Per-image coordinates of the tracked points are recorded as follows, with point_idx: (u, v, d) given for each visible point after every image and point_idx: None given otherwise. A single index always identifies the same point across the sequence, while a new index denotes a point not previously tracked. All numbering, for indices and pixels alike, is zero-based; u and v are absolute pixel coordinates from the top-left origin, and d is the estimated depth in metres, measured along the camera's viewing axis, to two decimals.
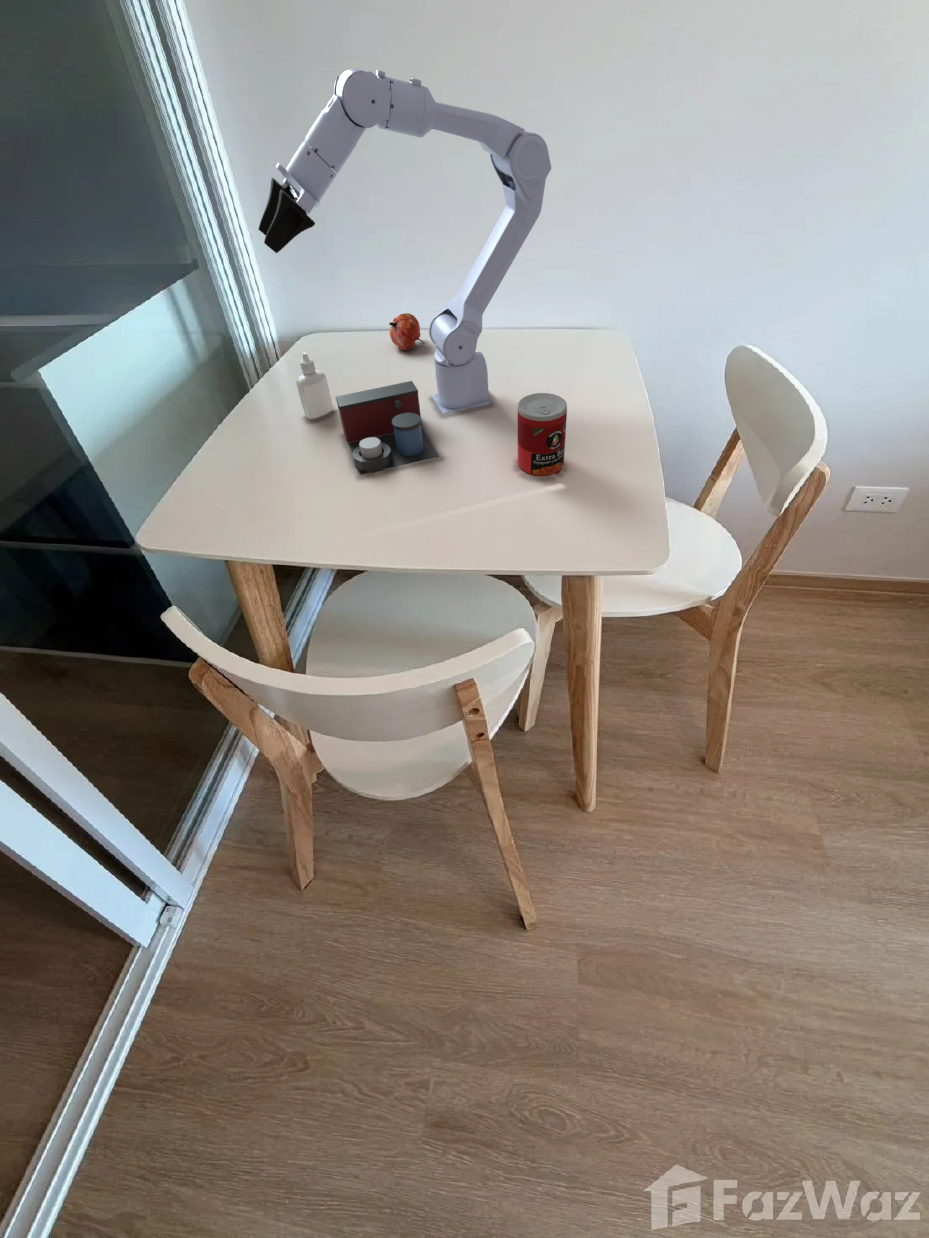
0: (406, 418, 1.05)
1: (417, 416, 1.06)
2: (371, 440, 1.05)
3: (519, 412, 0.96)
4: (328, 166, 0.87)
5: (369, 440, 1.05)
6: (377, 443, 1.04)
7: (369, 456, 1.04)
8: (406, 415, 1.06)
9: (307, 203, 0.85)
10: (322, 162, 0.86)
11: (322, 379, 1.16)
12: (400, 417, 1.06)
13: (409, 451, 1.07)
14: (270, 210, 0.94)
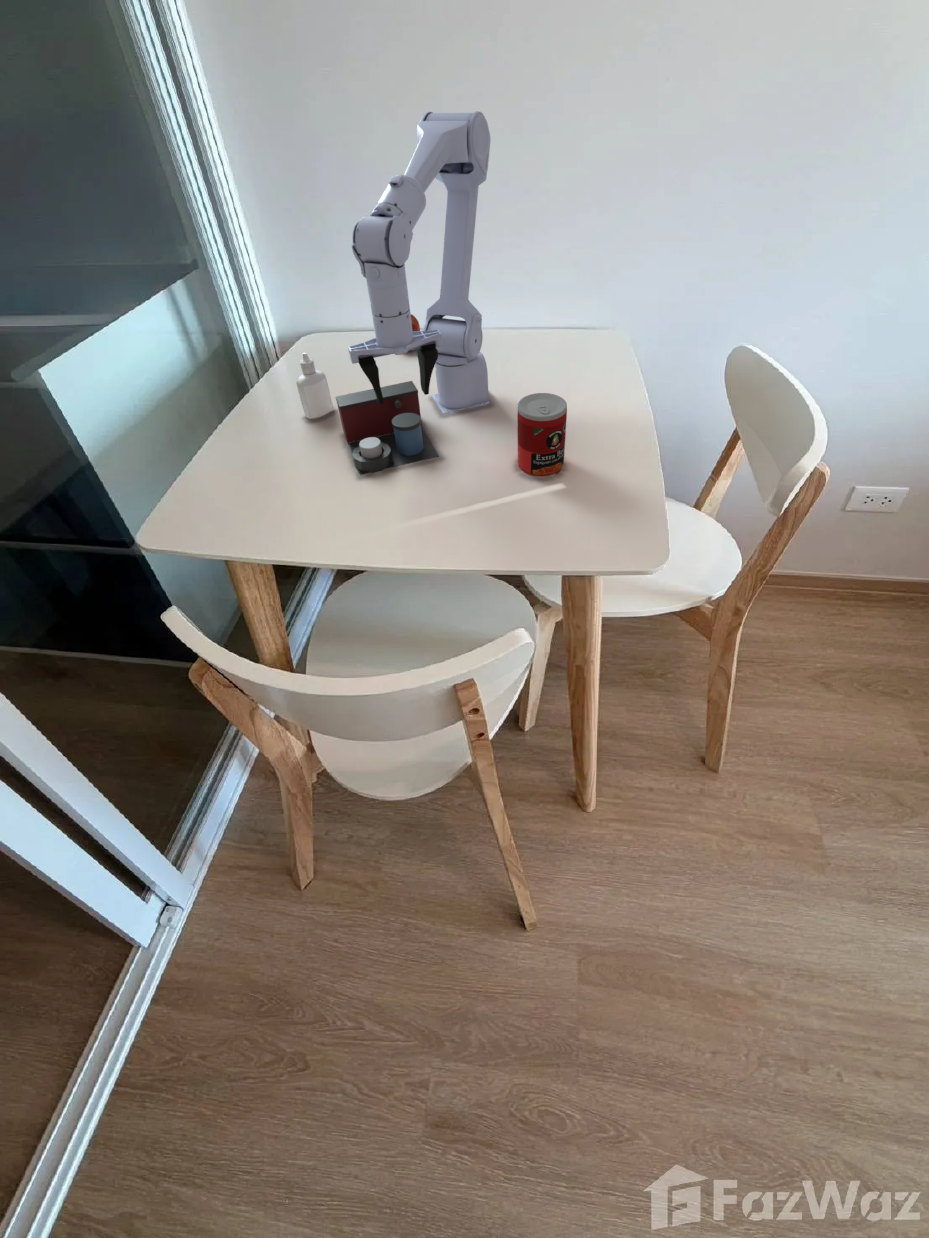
0: (406, 418, 1.05)
1: (417, 416, 1.06)
2: (371, 440, 1.05)
3: (519, 412, 0.96)
4: None
5: (369, 440, 1.05)
6: (377, 443, 1.04)
7: (369, 456, 1.04)
8: (406, 415, 1.06)
9: None
10: None
11: (322, 379, 1.16)
12: (400, 417, 1.06)
13: (409, 451, 1.07)
14: None
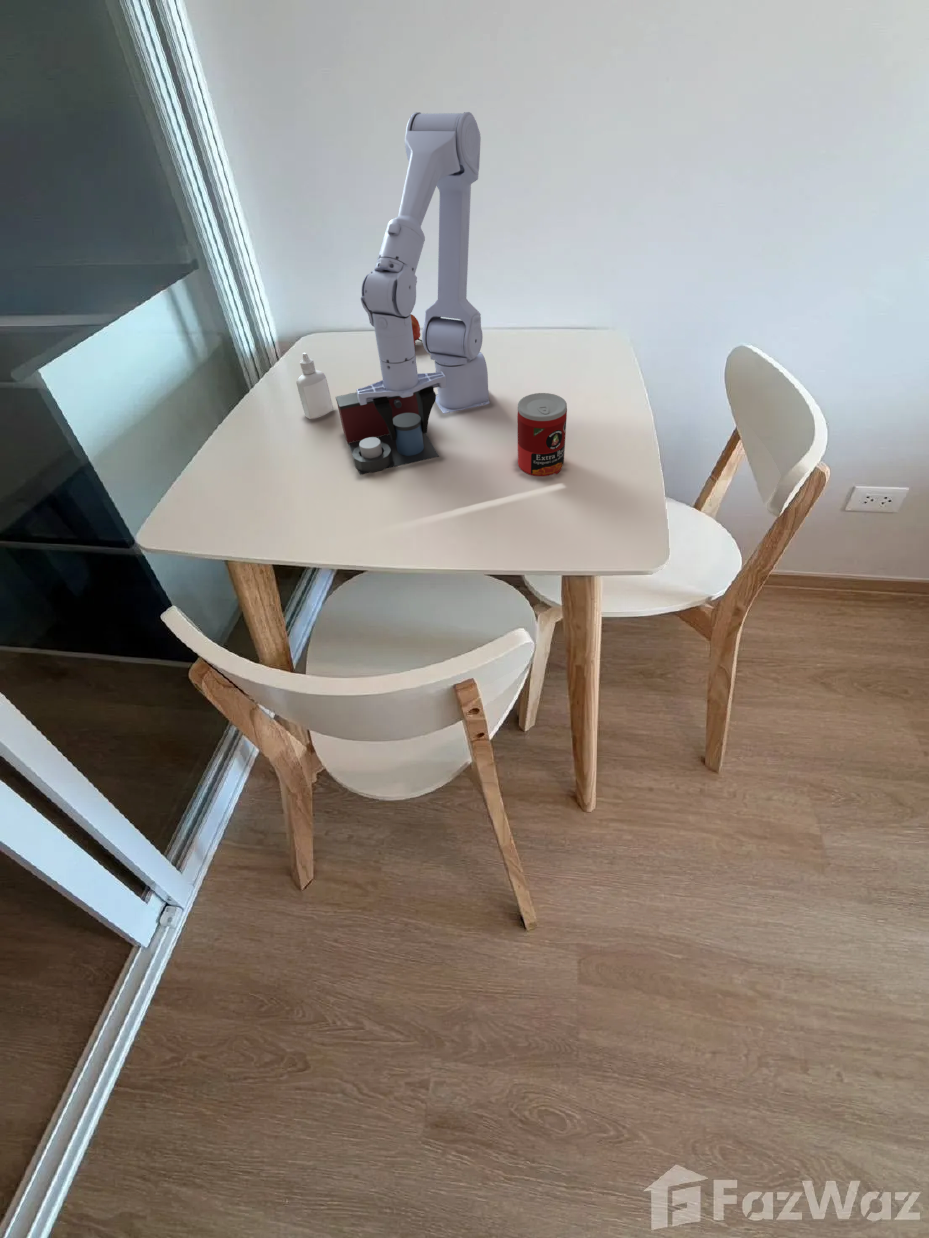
0: (406, 418, 1.05)
1: (417, 416, 1.06)
2: (371, 440, 1.05)
3: (519, 412, 0.96)
4: None
5: (369, 440, 1.05)
6: (377, 443, 1.04)
7: (369, 456, 1.04)
8: (406, 415, 1.06)
9: None
10: None
11: (322, 379, 1.16)
12: (400, 417, 1.06)
13: (410, 451, 1.07)
14: (392, 422, 1.04)
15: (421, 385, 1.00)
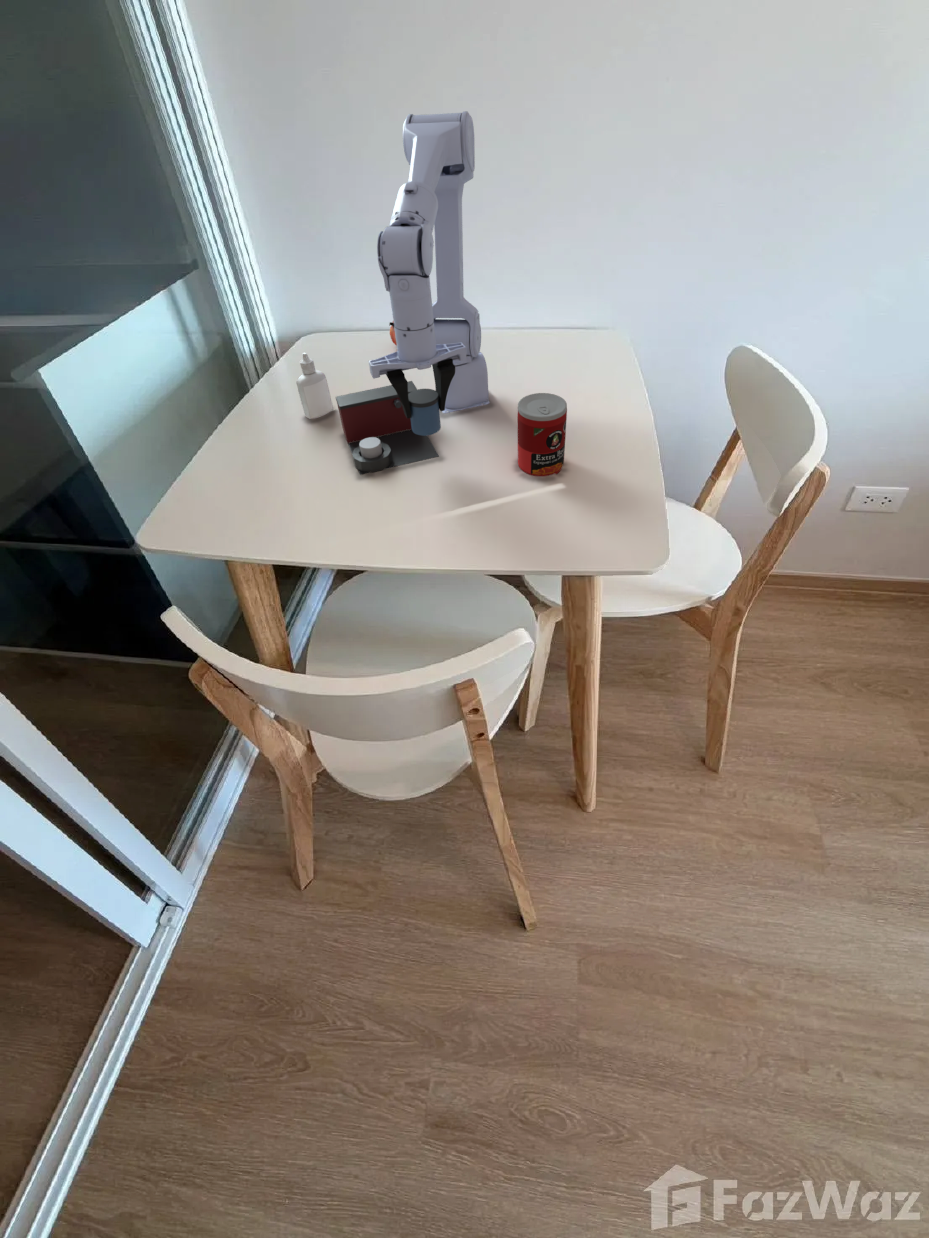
0: (422, 394, 0.97)
1: (434, 392, 0.97)
2: (371, 440, 1.05)
3: (519, 412, 0.96)
4: None
5: (369, 440, 1.05)
6: (377, 443, 1.04)
7: (369, 456, 1.04)
8: (422, 391, 0.97)
9: None
10: None
11: (322, 379, 1.16)
12: (416, 393, 0.97)
13: (426, 431, 0.98)
14: None
15: (440, 356, 0.91)
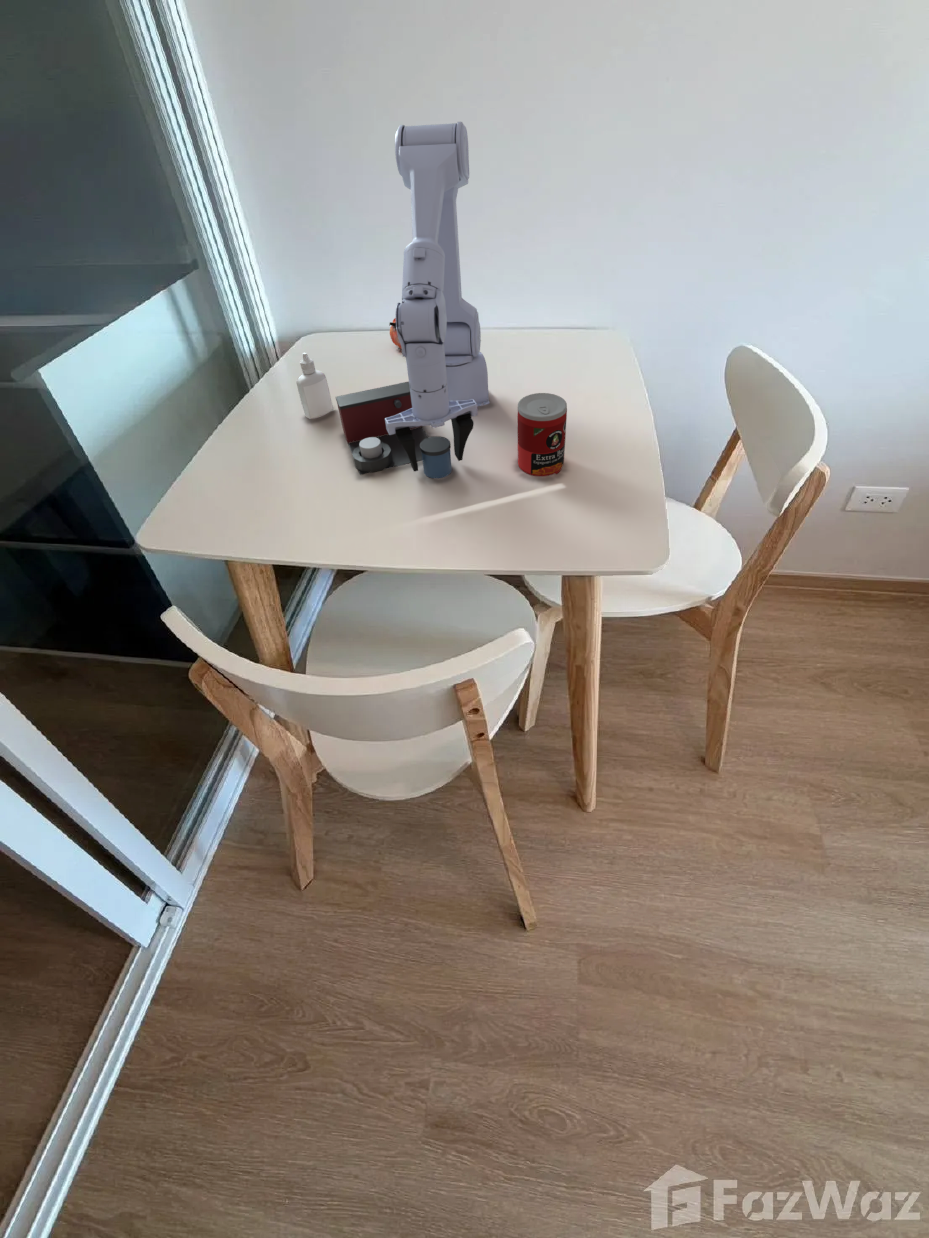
0: (435, 442, 1.01)
1: (446, 440, 1.01)
2: (371, 440, 1.05)
3: (519, 412, 0.96)
4: None
5: (369, 440, 1.05)
6: (377, 443, 1.04)
7: (369, 456, 1.04)
8: (434, 439, 1.01)
9: None
10: None
11: (322, 379, 1.16)
12: (428, 441, 1.01)
13: (438, 477, 1.02)
14: None
15: (452, 414, 0.95)
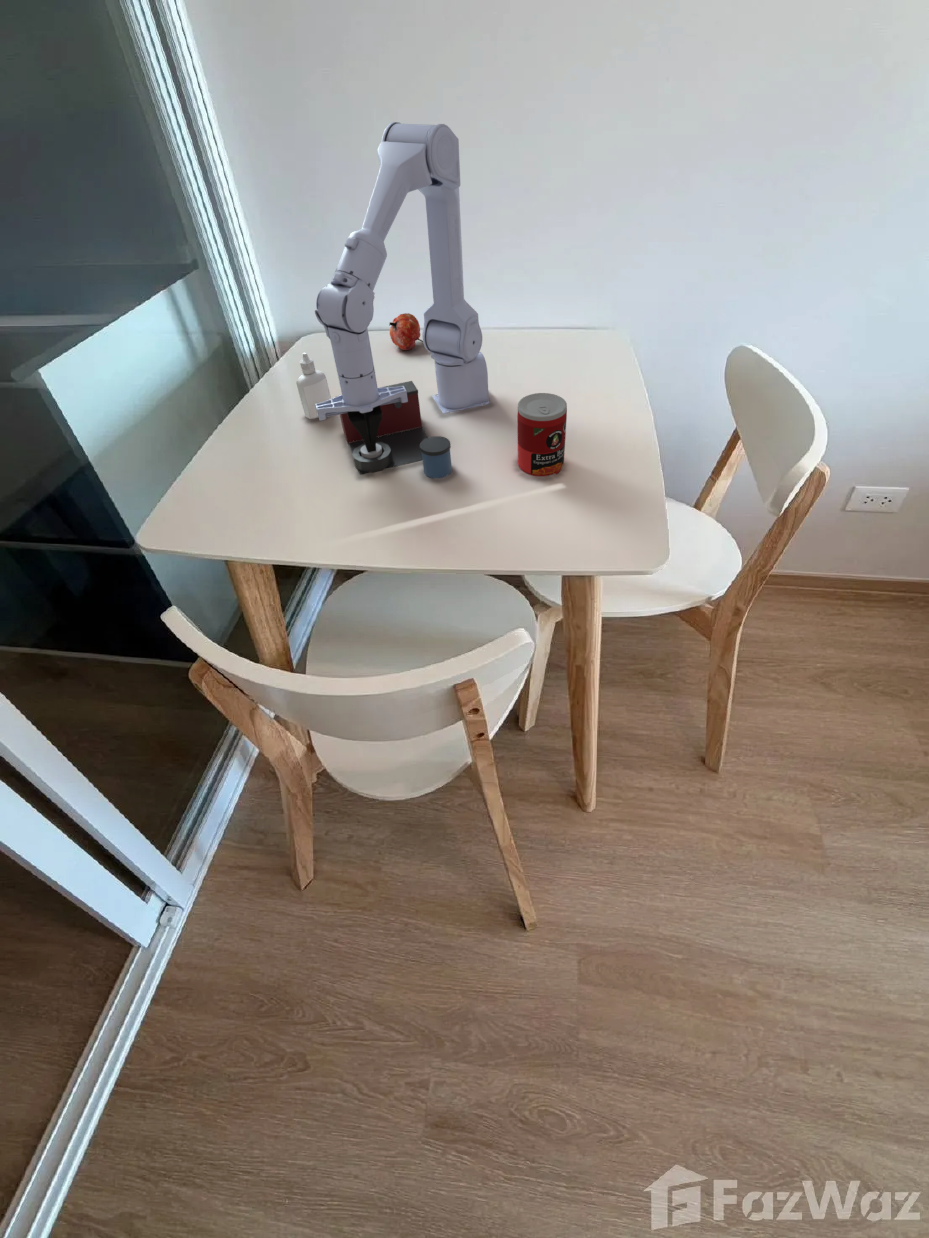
0: (435, 442, 1.01)
1: (446, 440, 1.01)
2: None
3: (519, 412, 0.96)
4: None
5: None
6: (378, 449, 1.05)
7: None
8: (434, 439, 1.01)
9: None
10: None
11: (322, 379, 1.16)
12: (428, 441, 1.01)
13: (438, 477, 1.02)
14: (367, 434, 1.02)
15: (381, 400, 0.98)
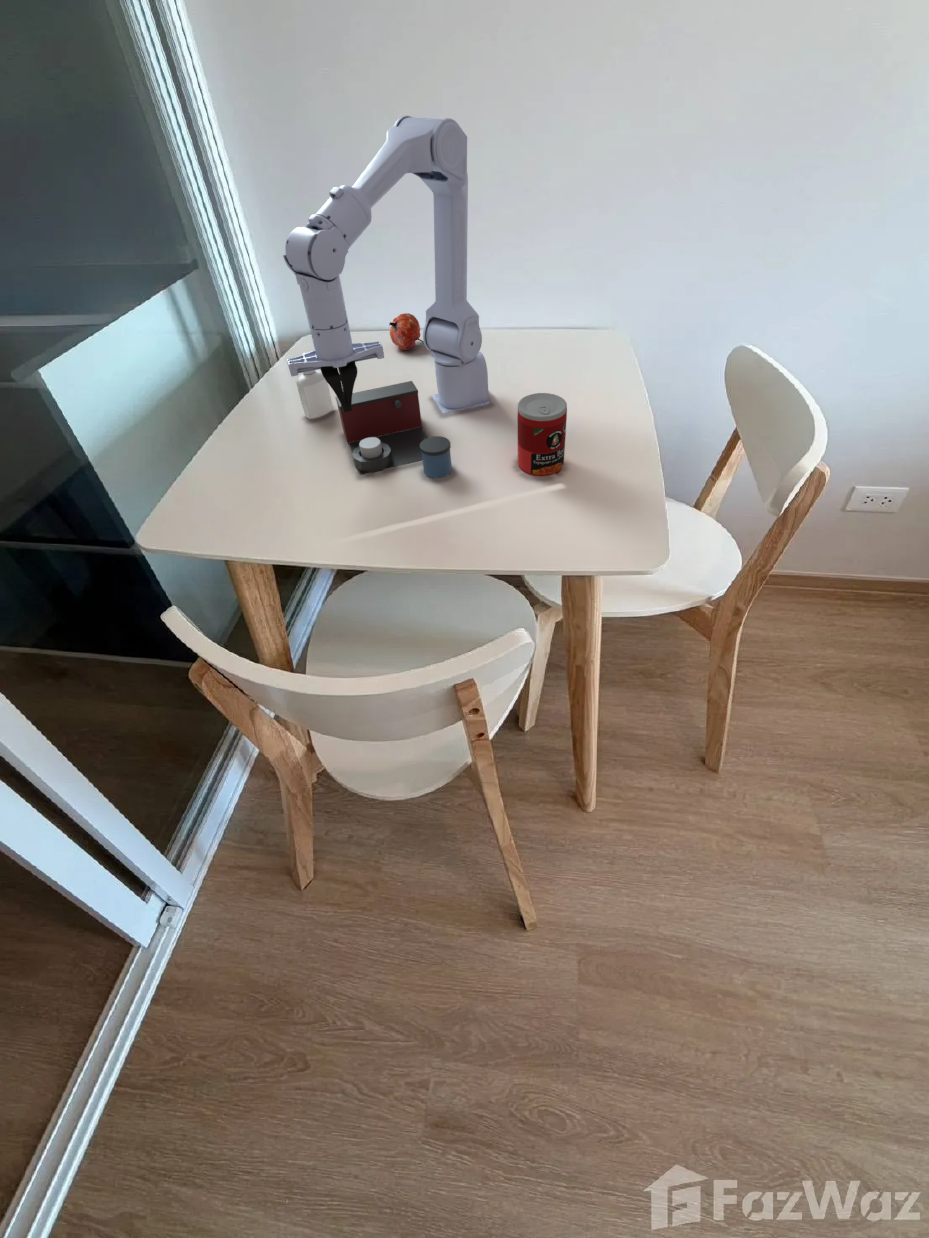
0: (435, 442, 1.01)
1: (446, 440, 1.01)
2: (371, 440, 1.05)
3: (519, 412, 0.96)
4: None
5: (369, 440, 1.05)
6: (377, 443, 1.04)
7: (369, 456, 1.04)
8: (434, 439, 1.01)
9: None
10: (347, 320, 0.92)
11: (322, 379, 1.16)
12: (428, 441, 1.01)
13: (438, 477, 1.02)
14: (342, 392, 0.98)
15: (356, 355, 0.93)
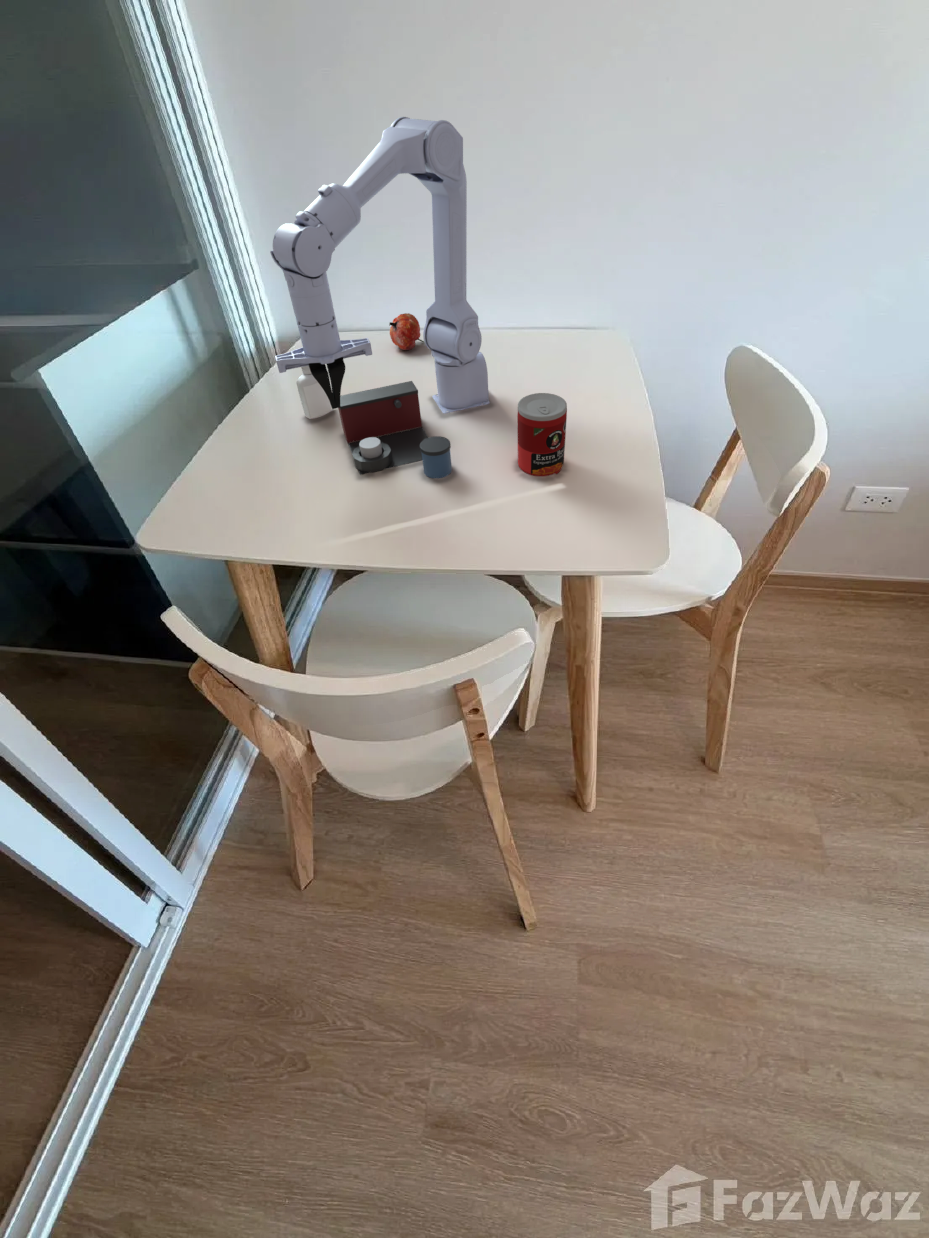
0: (435, 442, 1.01)
1: (446, 440, 1.01)
2: (371, 440, 1.05)
3: (519, 412, 0.96)
4: None
5: (369, 440, 1.05)
6: (377, 443, 1.04)
7: (369, 456, 1.04)
8: (434, 439, 1.01)
9: None
10: (335, 317, 0.92)
11: None
12: (428, 441, 1.01)
13: (438, 477, 1.02)
14: None
15: (343, 351, 0.94)
